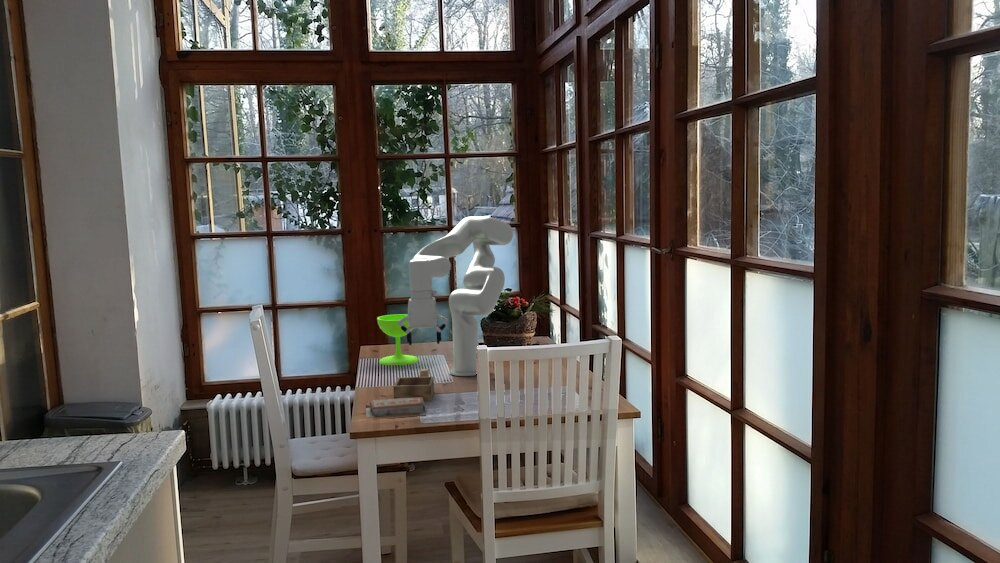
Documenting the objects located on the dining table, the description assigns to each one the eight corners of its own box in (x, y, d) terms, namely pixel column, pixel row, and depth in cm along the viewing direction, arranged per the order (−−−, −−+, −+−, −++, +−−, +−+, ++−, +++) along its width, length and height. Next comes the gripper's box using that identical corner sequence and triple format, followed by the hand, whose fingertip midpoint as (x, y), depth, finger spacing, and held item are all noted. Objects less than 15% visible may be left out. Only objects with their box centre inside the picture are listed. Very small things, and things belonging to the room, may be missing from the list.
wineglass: (424, 357, 317) (422, 314, 315) (409, 366, 301) (407, 320, 299) (388, 356, 321) (386, 313, 319) (372, 364, 306) (370, 320, 304)
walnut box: (434, 394, 258) (433, 376, 257) (431, 403, 246) (431, 385, 245) (398, 395, 258) (397, 377, 257) (394, 404, 246) (393, 386, 245)
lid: (444, 384, 273) (443, 365, 273) (442, 393, 260) (441, 373, 260) (407, 385, 273) (407, 366, 272) (404, 394, 260) (403, 374, 260)
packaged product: (423, 393, 241) (426, 402, 232) (423, 409, 242) (426, 417, 232) (365, 397, 238) (365, 406, 228) (365, 413, 239) (366, 422, 229)
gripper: (447, 291, 267) (450, 340, 269) (397, 294, 267) (400, 342, 269) (446, 295, 260) (449, 344, 262) (394, 297, 259) (398, 347, 262)
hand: (424, 343), depth 266 cm, fingers open, 9 cm apart
